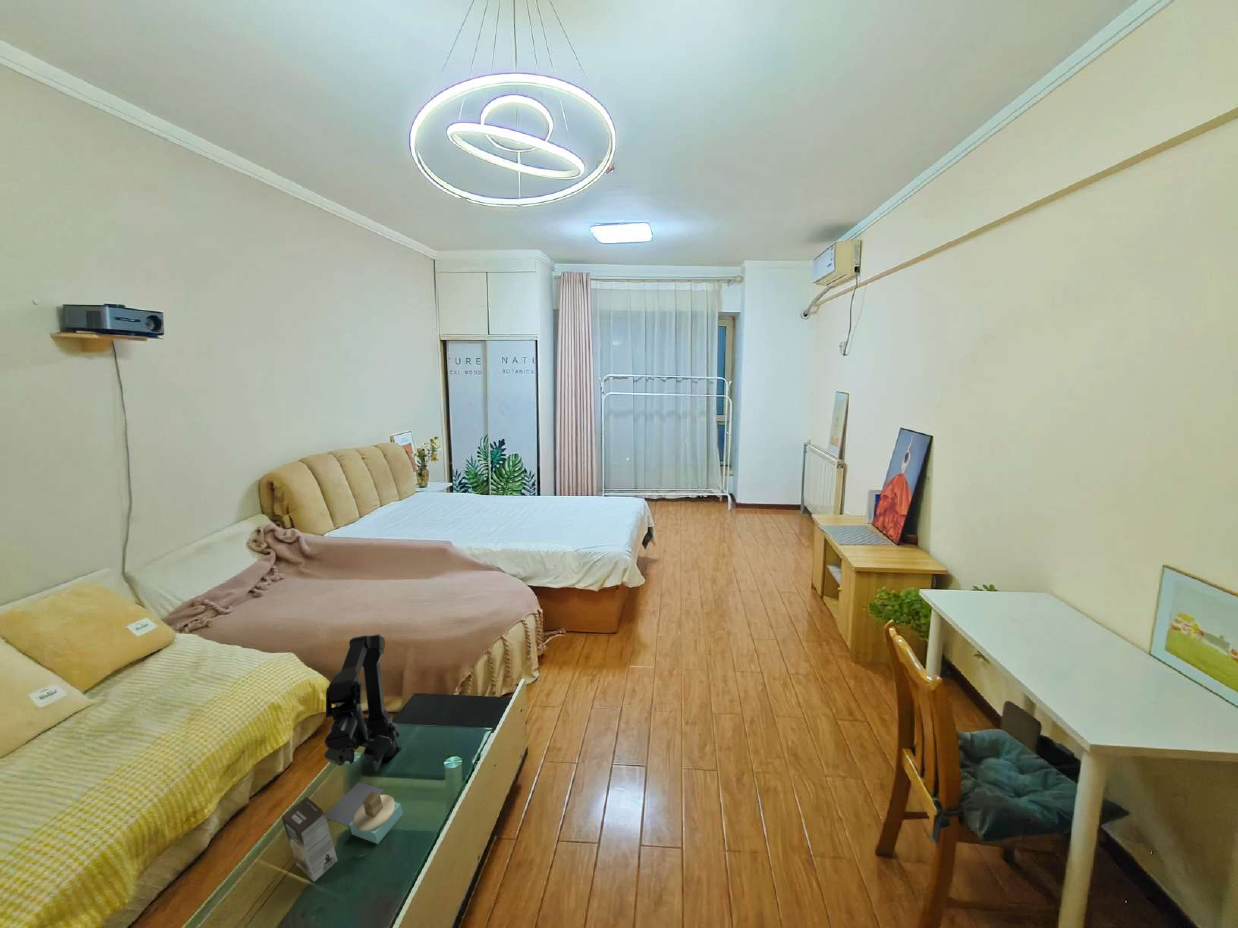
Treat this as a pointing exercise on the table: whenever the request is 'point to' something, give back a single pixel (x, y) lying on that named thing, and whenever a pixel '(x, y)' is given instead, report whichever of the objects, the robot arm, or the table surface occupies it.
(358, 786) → the mat
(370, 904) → the table surface
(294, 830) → the coffee box
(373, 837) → the open box
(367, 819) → the lid
